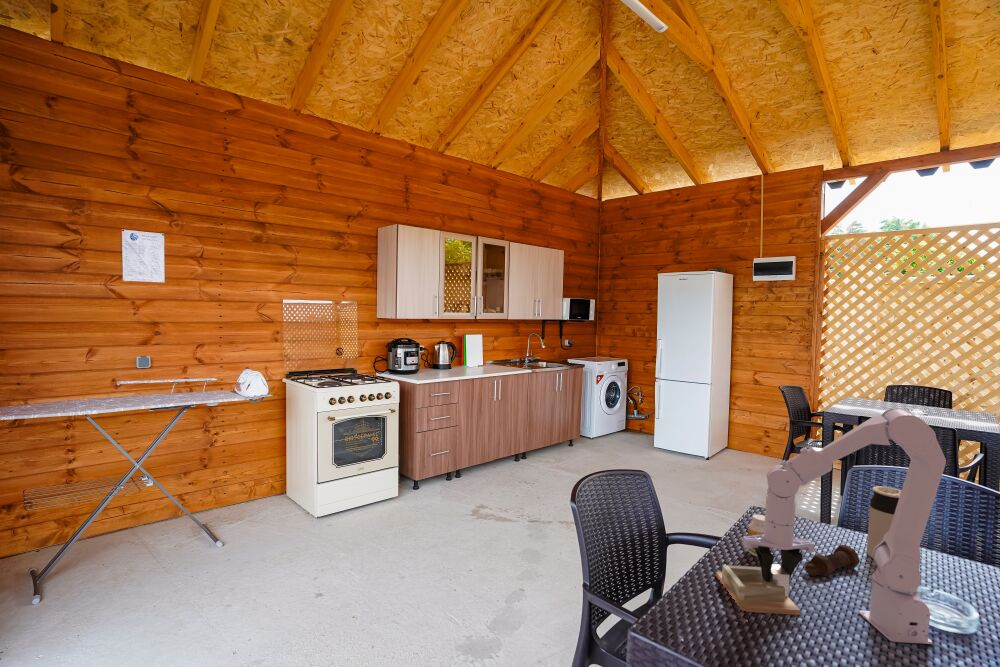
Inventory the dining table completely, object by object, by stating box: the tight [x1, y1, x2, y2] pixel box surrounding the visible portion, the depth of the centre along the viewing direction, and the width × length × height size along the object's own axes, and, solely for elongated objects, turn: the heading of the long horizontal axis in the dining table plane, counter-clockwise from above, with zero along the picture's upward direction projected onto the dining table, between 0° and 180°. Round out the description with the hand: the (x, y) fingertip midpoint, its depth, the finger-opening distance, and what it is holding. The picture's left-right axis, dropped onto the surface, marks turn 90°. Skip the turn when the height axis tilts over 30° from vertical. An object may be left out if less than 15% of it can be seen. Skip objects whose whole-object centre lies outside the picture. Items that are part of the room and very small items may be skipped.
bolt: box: [804, 544, 861, 577], centre depth 123 cm, size 6×5×15 cm
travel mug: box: [866, 485, 902, 559], centre depth 131 cm, size 8×8×18 cm
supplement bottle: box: [747, 513, 772, 558], centre depth 131 cm, size 5×5×10 cm
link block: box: [762, 563, 790, 597], centre depth 112 cm, size 4×4×5 cm
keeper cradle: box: [715, 564, 802, 616], centre depth 112 cm, size 14×12×4 cm
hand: (775, 580), depth 112 cm, fingers closed on link block, 3 cm apart
